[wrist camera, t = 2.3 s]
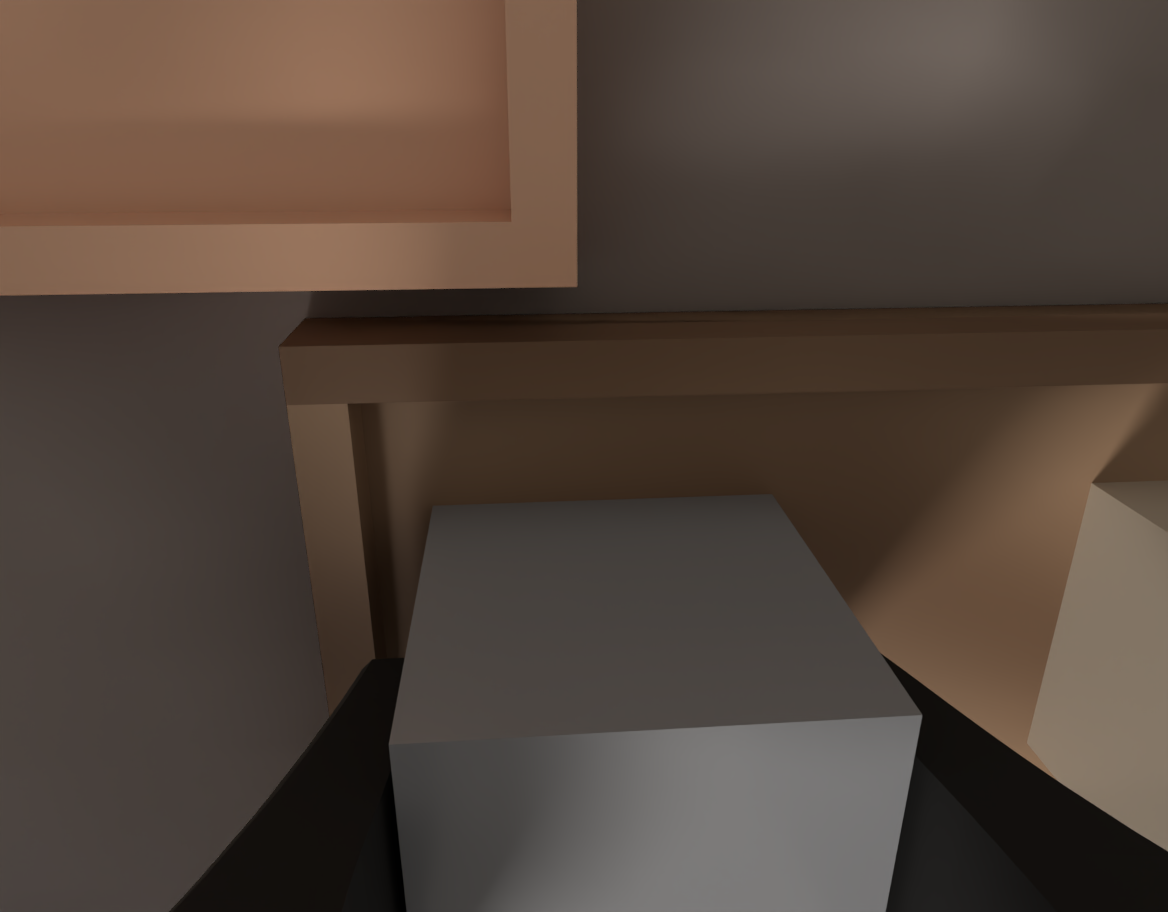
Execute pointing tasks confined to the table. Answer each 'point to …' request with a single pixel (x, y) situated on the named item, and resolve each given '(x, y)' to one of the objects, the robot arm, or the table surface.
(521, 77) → the terracotta dish
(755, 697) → the slate gray cube
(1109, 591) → the cream pedestal cube
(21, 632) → the table surface
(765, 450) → the walnut tray
